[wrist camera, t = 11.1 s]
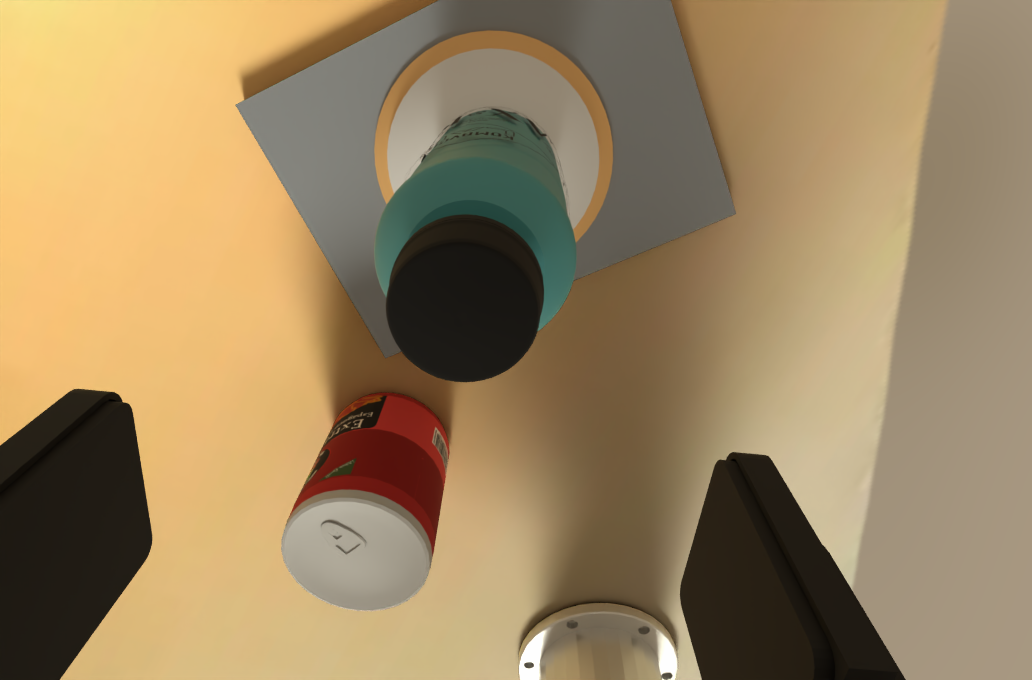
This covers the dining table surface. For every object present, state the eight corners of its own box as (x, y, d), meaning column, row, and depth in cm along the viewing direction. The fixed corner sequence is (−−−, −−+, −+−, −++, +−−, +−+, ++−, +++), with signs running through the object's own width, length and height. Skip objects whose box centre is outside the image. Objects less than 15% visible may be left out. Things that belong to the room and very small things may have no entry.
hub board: (729, 208, 37) (741, 218, 35) (389, 349, 41) (382, 365, 39) (634, -98, 31) (642, -107, 29) (244, 102, 35) (227, 106, 33)
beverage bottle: (578, 192, 34) (646, 365, 16) (470, 250, 36) (420, 469, 18) (520, 75, 32) (523, 126, 14) (406, 142, 33) (273, 267, 15)
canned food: (369, 367, 42) (321, 472, 32) (474, 428, 43) (460, 546, 33) (313, 449, 44) (252, 570, 34) (414, 504, 46) (385, 633, 36)
